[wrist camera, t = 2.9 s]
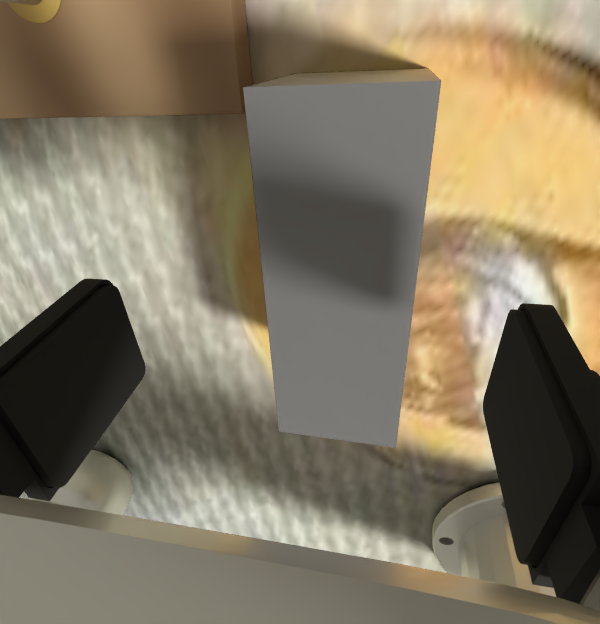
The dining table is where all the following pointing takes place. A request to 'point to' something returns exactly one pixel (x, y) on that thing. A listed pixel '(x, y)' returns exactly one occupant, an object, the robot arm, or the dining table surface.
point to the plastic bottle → (97, 486)
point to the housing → (341, 240)
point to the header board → (122, 58)
